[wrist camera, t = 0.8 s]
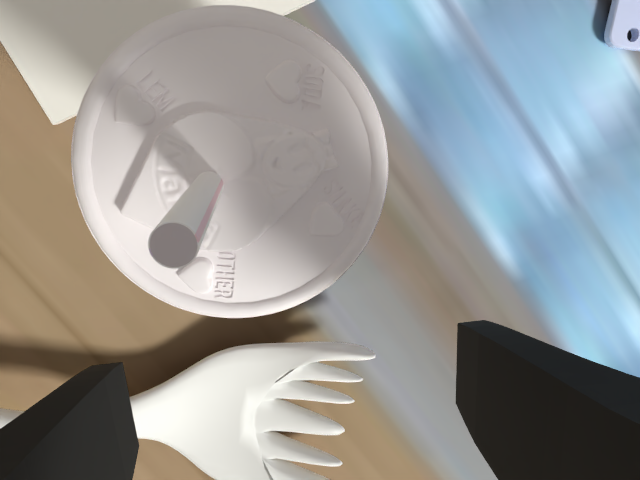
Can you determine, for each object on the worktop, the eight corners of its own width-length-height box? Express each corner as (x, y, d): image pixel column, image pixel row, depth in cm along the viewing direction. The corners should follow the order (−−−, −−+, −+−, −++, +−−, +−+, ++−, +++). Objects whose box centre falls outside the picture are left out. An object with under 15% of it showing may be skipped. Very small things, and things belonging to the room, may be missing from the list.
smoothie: (136, 81, 18) (-244, 5, 4) (301, 34, 18) (434, -180, 4) (196, 239, 19) (65, 531, 6) (344, 194, 20) (528, 377, 6)
